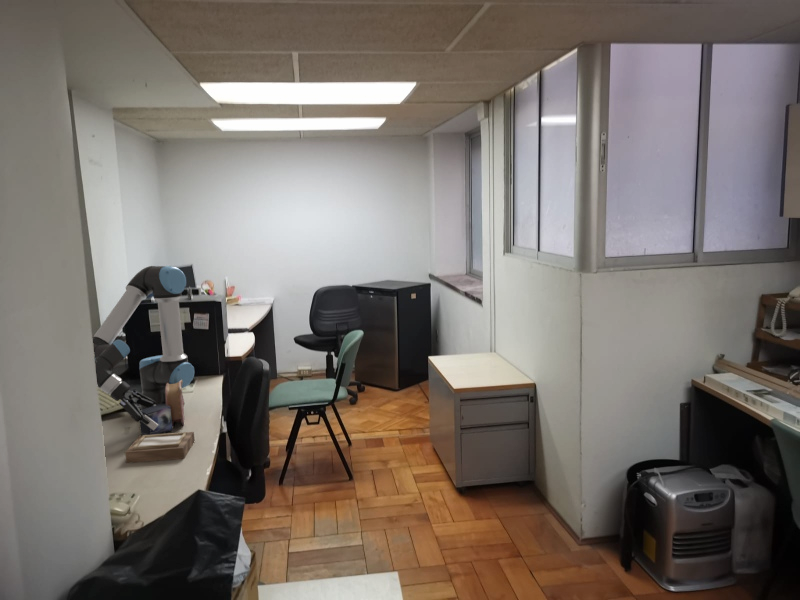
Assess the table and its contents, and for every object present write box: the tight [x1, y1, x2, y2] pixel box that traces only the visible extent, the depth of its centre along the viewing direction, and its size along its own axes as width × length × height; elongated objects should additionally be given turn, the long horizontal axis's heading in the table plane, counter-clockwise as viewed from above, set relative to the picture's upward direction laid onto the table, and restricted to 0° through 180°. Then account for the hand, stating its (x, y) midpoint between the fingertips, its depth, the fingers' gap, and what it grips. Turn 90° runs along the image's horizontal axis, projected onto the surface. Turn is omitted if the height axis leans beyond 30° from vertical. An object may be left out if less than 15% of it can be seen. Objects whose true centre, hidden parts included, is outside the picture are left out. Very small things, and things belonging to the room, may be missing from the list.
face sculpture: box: [165, 380, 185, 428], centre depth 253 cm, size 20×7×17 cm, turn 20°
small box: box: [139, 404, 174, 436], centre depth 240 cm, size 11×6×10 cm, turn 144°
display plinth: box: [124, 431, 196, 464], centre depth 222 cm, size 16×20×5 cm
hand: (160, 422), depth 240 cm, fingers closed on small box, 11 cm apart
